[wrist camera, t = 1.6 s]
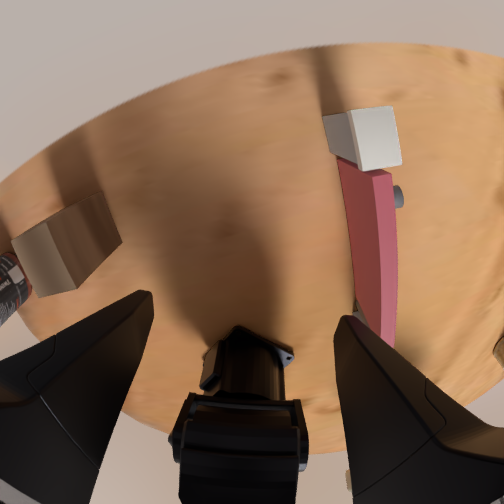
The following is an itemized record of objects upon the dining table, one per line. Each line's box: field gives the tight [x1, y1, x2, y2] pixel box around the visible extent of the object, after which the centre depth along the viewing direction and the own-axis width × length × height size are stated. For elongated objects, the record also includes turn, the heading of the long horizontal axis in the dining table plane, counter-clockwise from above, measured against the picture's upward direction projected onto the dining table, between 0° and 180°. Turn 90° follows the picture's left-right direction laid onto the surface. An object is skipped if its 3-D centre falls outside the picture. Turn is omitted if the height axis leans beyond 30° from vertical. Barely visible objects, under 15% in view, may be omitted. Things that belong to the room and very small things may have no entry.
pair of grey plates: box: [322, 106, 402, 328], centre depth 17 cm, size 20×2×7 cm, turn 15°
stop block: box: [11, 191, 122, 298], centre depth 17 cm, size 4×4×7 cm
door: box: [337, 158, 404, 348], centre depth 16 cm, size 11×2×6 cm, turn 15°
